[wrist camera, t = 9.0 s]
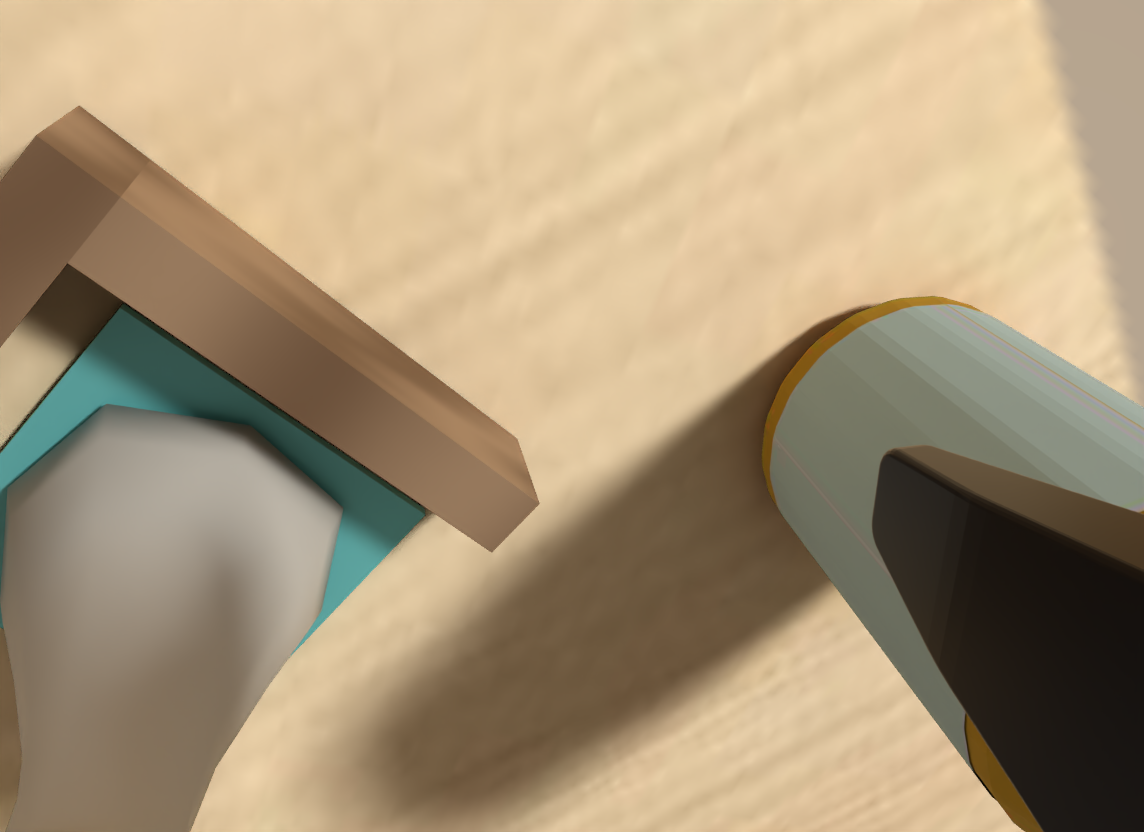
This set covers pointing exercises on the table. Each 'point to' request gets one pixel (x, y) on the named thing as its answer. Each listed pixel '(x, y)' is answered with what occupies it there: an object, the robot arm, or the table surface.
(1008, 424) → the bottle
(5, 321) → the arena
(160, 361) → the pad
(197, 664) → the flask
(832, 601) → the table surface
